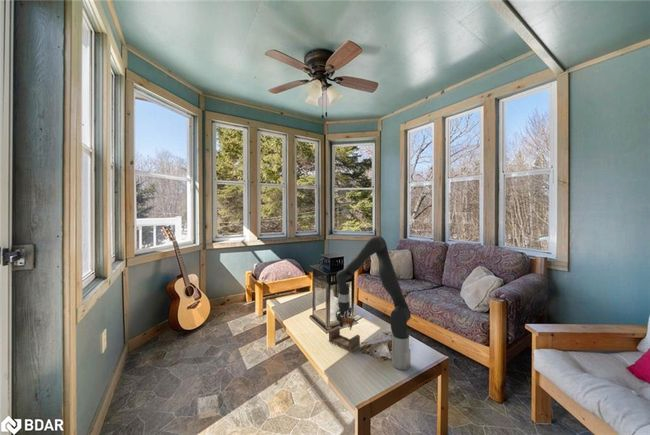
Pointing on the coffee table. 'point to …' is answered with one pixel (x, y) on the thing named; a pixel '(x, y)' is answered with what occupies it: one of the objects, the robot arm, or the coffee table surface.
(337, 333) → the keeper cradle
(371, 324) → the coffee table surface
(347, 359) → the coffee table surface
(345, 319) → the bull figurine
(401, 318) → the robot arm
